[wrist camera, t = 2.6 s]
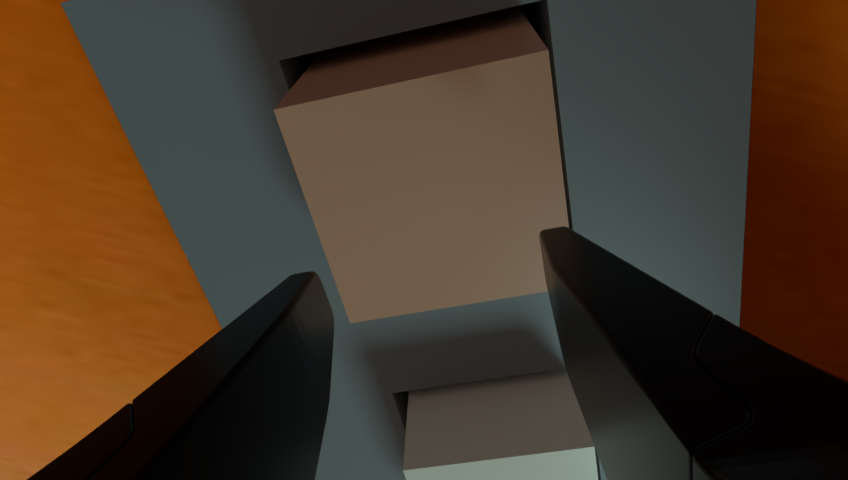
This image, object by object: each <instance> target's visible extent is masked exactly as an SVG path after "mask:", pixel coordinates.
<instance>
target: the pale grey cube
mask: <svg viewBox="0 0 848 480" xmlns="http://www.w3.org/2000/svg"><path fill="white" fill-rule="evenodd" d="M403 472H404V475H405V478H406V480H598V473H597V464H596V456H595V447H594V443H593V441H592V438H591V435H590V433H589V430H588V428H587V425H586V422H585V420H584V417H583V414H582V412H581V409H580V406H579V404H578V401H577V398H576V396H575V393H574V390H573V388H572V385H571V382H570V379H569V376H568V374H567V371H566V368H564V369H557V370H550V371H543V372H536V373H529V374H522V375H515V376H508V377H501V378H494V379H487V380H480V381H473V382H466V383H460V384H453V385H446V386H439V387H432V388H425V389H418V390H411V391H409V395H408V409H407V422H406V435H405V449H404V462H403Z"/></svg>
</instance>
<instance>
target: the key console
mask: <svg viewBox="0 0 848 480" xmlns="http://www.w3.org/2000/svg"><path fill="white" fill-rule="evenodd" d="M756 2H757V0H70V1H66V2H62V3H61V5H62V7H63V9H64V11H65V13H66V15H67V17H68V19H69V21H70V23H71V25H72V27H73V29H74V31H75V33H76V35H77V37H78V39H79V41H80V43H81V45H82V47H83V49H84V51H85V53H86V55H87V57H88V59H89V61H90V63H91V65H92V67H93V69H94V71H95V73H96V75H97V77H98V79H99V81H100V83H101V85H102V87H103V89H104V91H105V93H106V95H107V97H108V99H109V101H110V103H111V105H112V107H113V109H114V112H115V114H116V116H117V118H118V120H119V122H120V124H121V126H122V128H123V130H124V132H125V134H126V136H127V138H128V140H129V142H130V144H131V146H132V148H133V150H134V152H135V154H136V156H137V158H138V160H139V162H140V164H141V166H142V168H143V170H144V172H145V174H146V176H147V178H148V180H149V182H150V184H151V186H152V188H153V190H154V192H155V194H156V196H157V198H158V200H159V202H160V204H161V206H162V208H163V210H164V212H165V214H166V216H167V218H168V220H169V222H170V224H171V226H172V228H173V230H174V232H175V234H176V236H177V238H178V240H179V242H180V244H181V246H182V248H183V250H184V252H185V254H186V256H187V258H188V260H189V262H190V264H191V266H192V269H193V271H194V273H195V275H196V277H197V279H198V281H199V283H200V285H201V287H202V289H203V291H204V293H205V295H206V297H207V299H208V301H209V303H210V305H211V307H212V309H213V311H214V313H215V315H216V317H217V319H218V321H219V323H220V325H221V327H222V329H223V328H224V327H226V326H227V325H228V324H229V323H231V322H232V321H233V320H234V319H236V318H237V317H238V316H240V315H241V314H242V313H243V312H245V311H246V310H247V309H248V308H250V307H251V306H252V305H253V304H255V303H256V302H257V301H258V300H260V299H261V298H262V297H264V296H265V295H266V294H267V293H269V292H270V291H271V290H272V289H274V288H275V287H276V286H277V285H279V284H280V283H281V282H282V281H284V280H285V279H286V278H288V277H289V276H290V275H293V274H297V273H302V272H308V271H314V272H316V273H317V274H318V275H319V277H320V279H321V282H322V284H323V287H324V290H325V292H326V295H327V298H328V300H329V303H330V306H331V308H332V311H333V315H334V340H333V356H332V372H331V388H330V400H329V407H328V414H327V420H326V425H325V430H324V435H323V441H322V446H321V451H320V457H319V462H318V467H317V473H316V478H315V480H406V478H405V475H404V472H403V462H404V449H405V435H406V422H407V409H408V395H409V391H411V390H418V389H425V388H432V387H439V386H446V385H453V384H460V383H466V382H473V381H480V380H487V379H494V378H501V377H508V376H515V375H522V374H529V373H536V372H543V371H550V370H557V369H564V368H566V367H565V364H564V360H563V356H562V352H561V347H560V343H559V339H558V334H557V330H556V325H555V321H554V316H553V312H552V307H551V303H550V298H549V294H548V291H547V292H541V293H535V294H529V295H522V296H516V297H510V298H504V299H498V300H492V301H485V302H479V303H473V304H467V305H461V306H454V307H448V308H442V309H436V310H430V311H424V312H417V313H411V314H405V315H399V316H393V317H386V318H380V319H374V320H368V321H362V322H356V323H350V322H349V319H348V316H347V314H346V311H345V308H344V305H343V302H342V300H341V297H340V294H339V291H338V289H337V286H336V283H335V280H334V277H333V275H332V272H331V269H330V266H329V263H328V261H327V258H326V255H325V252H324V250H323V247H322V244H321V241H320V238H319V236H318V233H317V230H316V227H315V225H314V222H313V219H312V216H311V213H310V211H309V208H308V205H307V202H306V199H305V197H304V194H303V191H302V188H301V186H300V183H299V180H298V177H297V174H296V172H295V169H294V166H293V163H292V160H291V158H290V155H289V152H288V149H287V147H286V144H285V141H284V138H283V135H282V133H281V130H280V127H279V124H278V121H277V119H276V116H275V113H274V108H275V107H276V106H277V105H278V104H279V102H280V101H281V100H282V99H283V97H284V96H285V95H286V94H287V93H288V91H289V90H290V89H291V88H292V87H293V85H294V84H295V83H296V82H297V81H298V79H299V78H300V77H301V76H302V74H303V73H304V72H305V71H306V70H307V68H308V67H309V66H310V65H311V64H312V62H313V61H314V60H315V59H316V58H317V56H318V55H319V54H320V53H321V52H322V51H323V50H327V49H331V48H336V47H340V46H345V45H349V44H353V43H358V42H362V41H366V40H371V39H375V38H379V37H384V36H388V35H392V34H397V33H401V32H405V31H410V30H414V29H419V28H423V27H427V26H432V25H436V24H440V23H445V22H449V21H453V20H458V19H462V18H466V17H471V16H475V15H480V14H484V13H488V12H493V11H497V10H501V9H506V8H510V7H514V6H518V7H519V8H520V10H521V11H522V13H523V14H524V16H525V17H526V18H527V20H528V21H529V23H530V24H531V26H532V27H533V28H534V30H535V31H536V33H537V34H538V36H539V37H540V39H541V40H542V41H543V43H544V44H545V46H546V47H547V49H548V51H549V59H550V68H551V76H552V85H553V94H554V102H555V111H556V120H557V128H558V137H559V145H560V154H561V163H562V171H563V180H564V188H565V197H566V206H567V214H568V223H569V228H570V229H571V230H573V231H575V232H577V233H578V234H580V235H582V236H583V237H585V238H587V239H589V240H590V241H592V242H594V243H595V244H597V245H599V246H601V247H602V248H604V249H606V250H607V251H609V252H611V253H613V254H614V255H616V256H618V257H619V258H621V259H623V260H625V261H626V262H628V263H630V264H631V265H633V266H635V267H636V268H638V269H640V270H642V271H643V272H645V273H647V274H648V275H650V276H652V277H654V278H655V279H657V280H659V281H660V282H662V283H664V284H666V285H667V286H669V287H671V288H672V289H674V290H676V291H678V292H679V293H681V294H683V295H684V296H686V297H688V298H690V299H691V300H693V301H695V302H696V303H698V304H700V305H701V306H703V307H705V308H707V309H708V310H710V311H712V312H713V315H714V314H717V315H719V316H721V317H722V318H724V319H726V320H728V321H729V322H731V323H733V324H734V325H736V326H738V327H739V326H740V307H741V288H742V269H743V250H744V231H745V212H746V193H747V174H748V155H749V136H750V116H751V97H752V78H753V59H754V40H755V21H756ZM594 447H595V446H594ZM595 456H596V464H597V473H598V480H607V478H606V475H605V473H604V470H603V467H602V465H601V462H600V459H599V457H598V454H597V451H596V449H595Z"/></svg>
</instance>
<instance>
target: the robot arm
mask: <svg viewBox="0 0 848 480" xmlns="http://www.w3.org/2000/svg"><path fill="white" fill-rule="evenodd" d="M539 238H540V246H541V253H542V259H543V266H544V273H545V279H546V285H547V290H548V294H549V298H550V303H551V307H552V312H553V316H554V321H555V325H556V330H557V334H558V339H559V343H560V347H561V352H562V356H563V360H564V364H565V367H566V371H567V374H568V376H569V379H570V382H571V385H572V388H573V390H574V393H575V396H576V398H577V401H578V404H579V406H580V409H581V412H582V414H583V417H584V420H585V422H586V425H587V428H588V430H589V433H590V435H591V438H592V441H593V443H594V446H595V449H596V451H597V454H598V457H599V459H600V462H601V465H602V467H603V470H604V473H605V475H606V478H607V480H848V382H847V381H845V380H843V379H841V378H839V377H837V376H834V375H832V374H830V373H828V372H826V371H824V370H822V369H819V368H817V367H815V366H813V365H811V364H809V363H807V362H805V361H803V360H801V359H799V358H797V357H795V356H793V355H791V354H789V353H787V352H785V351H783V350H780V349H778V348H776V347H774V346H772V345H771V344H769V343H767V342H765V341H763V340H761V339H760V338H758V337H756V336H754V335H752V334H751V333H749V332H747V331H745V330H743V329H741V328H740V327H738V326H736V325H734V324H733V323H731V322H729V321H728V320H726V319H724V318H722V317H721V316H719V315H717V314H714V315H713V312H712V311H710V310H708V309H707V308H705V307H703V306H701V305H700V304H698V303H696V302H695V301H693V300H691V299H690V298H688V297H686V296H684V295H683V294H681V293H679V292H678V291H676V290H674V289H672V288H671V287H669V286H667V285H666V284H664V283H662V282H660V281H659V280H657V279H655V278H654V277H652V276H650V275H648V274H647V273H645V272H643V271H642V270H640V269H638V268H636V267H635V266H633V265H631V264H630V263H628V262H626V261H625V260H623V259H621V258H619V257H618V256H616V255H614V254H613V253H611V252H609V251H607V250H606V249H604V248H602V247H601V246H599V245H597V244H595V243H594V242H592V241H590V240H589V239H587V238H585V237H583V236H582V235H580V234H578V233H577V232H575V231H573V230H571V229H570V228H568V227H565V226H561V227H556V228H550V229H544V230H542V231H541V232H540V234H539ZM333 340H334V315H333V311H332V308H331V306H330V303H329V300H328V298H327V295H326V292H325V290H324V287H323V284H322V282H321V279H320V277H319V275H318V274H317V273H316V272H314V271H308V272H302V273H297V274H293V275H290V276H289V277H288V278H286V279H285V280H284V281H282V282H281V283H280V284H279V285H277V286H276V287H275V288H274V289H272V290H271V291H270V292H269V293H267V294H266V295H265V296H264V297H262V298H261V299H260V300H258V301H257V302H256V303H255V304H253V305H252V306H251V307H250V308H248V309H247V310H246V311H245V312H243V313H242V314H241V315H240V316H238V317H237V318H236V319H234V320H233V321H232V322H231V323H229V324H228V325H227V326H226V327H224V328H223V329H222V330H221V331H219V332H218V333H217V334H216V335H214V336H213V337H212V338H210V339H209V340H208V341H207V342H205V343H204V344H203V345H202V346H200V347H199V348H198V349H197V350H195V351H194V352H193V353H192V354H190V355H189V356H188V357H186V358H185V359H184V360H183V361H181V362H180V363H179V364H178V365H176V366H175V367H174V368H173V369H171V370H170V371H169V372H168V373H166V374H165V375H164V376H162V377H161V378H160V379H159V380H157V381H156V382H155V383H154V384H152V385H151V386H150V387H149V388H147V389H146V390H145V391H144V392H142V393H141V394H140V395H138V396H137V397H136V398H135V399H133V401H132V404H131V403H129V404H127V405H126V406H124V407H123V408H122V409H121V410H119V411H118V412H117V413H116V414H114V415H113V416H112V417H110V418H109V419H108V420H107V421H105V422H104V423H103V424H101V425H100V426H99V427H98V428H96V429H95V430H94V431H92V432H91V433H90V434H88V435H87V436H86V437H85V438H83V439H82V440H81V441H79V442H78V443H77V444H75V445H74V446H73V447H71V448H70V449H69V450H67V451H66V452H64V453H63V454H62V455H60V456H59V457H57V458H56V459H55V460H53V461H52V462H51V463H49V464H48V465H46V466H45V467H44V468H42V469H41V470H40V471H38V472H37V473H35V474H34V475H33V476H31V477H30V478H28V479H27V480H315V478H316V473H317V467H318V462H319V457H320V451H321V446H322V441H323V435H324V430H325V425H326V420H327V414H328V407H329V400H330V388H331V372H332V356H333Z"/></svg>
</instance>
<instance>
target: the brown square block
mask: <svg viewBox="0 0 848 480" xmlns="http://www.w3.org/2000/svg"><path fill="white" fill-rule="evenodd" d="M274 113H275V116H276V119H277V121H278V124H279V127H280V130H281V133H282V135H283V138H284V141H285V144H286V147H287V149H288V152H289V155H290V158H291V160H292V163H293V166H294V169H295V172H296V174H297V177H298V180H299V183H300V186H301V188H302V191H303V194H304V197H305V199H306V202H307V205H308V208H309V211H310V213H311V216H312V219H313V222H314V225H315V227H316V230H317V233H318V236H319V238H320V241H321V244H322V247H323V250H324V252H325V255H326V258H327V261H328V263H329V266H330V269H331V272H332V275H333V277H334V280H335V283H336V286H337V289H338V291H339V294H340V297H341V300H342V302H343V305H344V308H345V311H346V314H347V316H348V319H349V322H350V323H356V322H362V321H368V320H374V319H380V318H386V317H393V316H399V315H405V314H411V313H417V312H424V311H430V310H436V309H442V308H448V307H454V306H461V305H467V304H473V303H479V302H485V301H492V300H498V299H504V298H510V297H516V296H522V295H529V294H535V293H541V292H547V291H548V290H547V285H546V279H545V273H544V266H543V259H542V253H541V246H540V238H539V234H540V232H541V231H542V230H544V229H550V228H556V227H561V226H565V227H568V228H569V223H568V214H567V206H566V197H565V188H564V180H563V171H562V163H561V154H560V145H559V137H558V128H557V120H556V111H555V102H554V94H553V85H552V76H551V68H550V59H549V51H548V49H547V47H546V46H545V44H544V43H543V41H542V40H541V39H540V37H539V36H538V34H537V33H536V31H535V30H534V28H533V27H532V26H531V24H530V23H529V21H528V20H527V18H526V17H525V16H524V14H523V13H522V11H521V10H520V8H519V7H518V6H514V7H510V8H506V9H501V10H497V11H493V12H488V13H484V14H480V15H475V16H471V17H466V18H462V19H458V20H453V21H449V22H445V23H440V24H436V25H432V26H427V27H423V28H419V29H414V30H410V31H405V32H401V33H397V34H392V35H388V36H384V37H379V38H375V39H371V40H366V41H362V42H358V43H353V44H349V45H345V46H340V47H336V48H331V49H327V50H323V51H322V52H321V53H320V54H319V55H318V56H317V58H316V59H315V60H314V61H313V62H312V64H311V65H310V66H309V67H308V68H307V70H306V71H305V72H304V73H303V74H302V76H301V77H300V78H299V79H298V81H297V82H296V83H295V84H294V85H293V87H292V88H291V89H290V90H289V91H288V93H287V94H286V95H285V96H284V97H283V99H282V100H281V101H280V102H279V104H278V105H277V106H276V107H275V108H274Z"/></svg>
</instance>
